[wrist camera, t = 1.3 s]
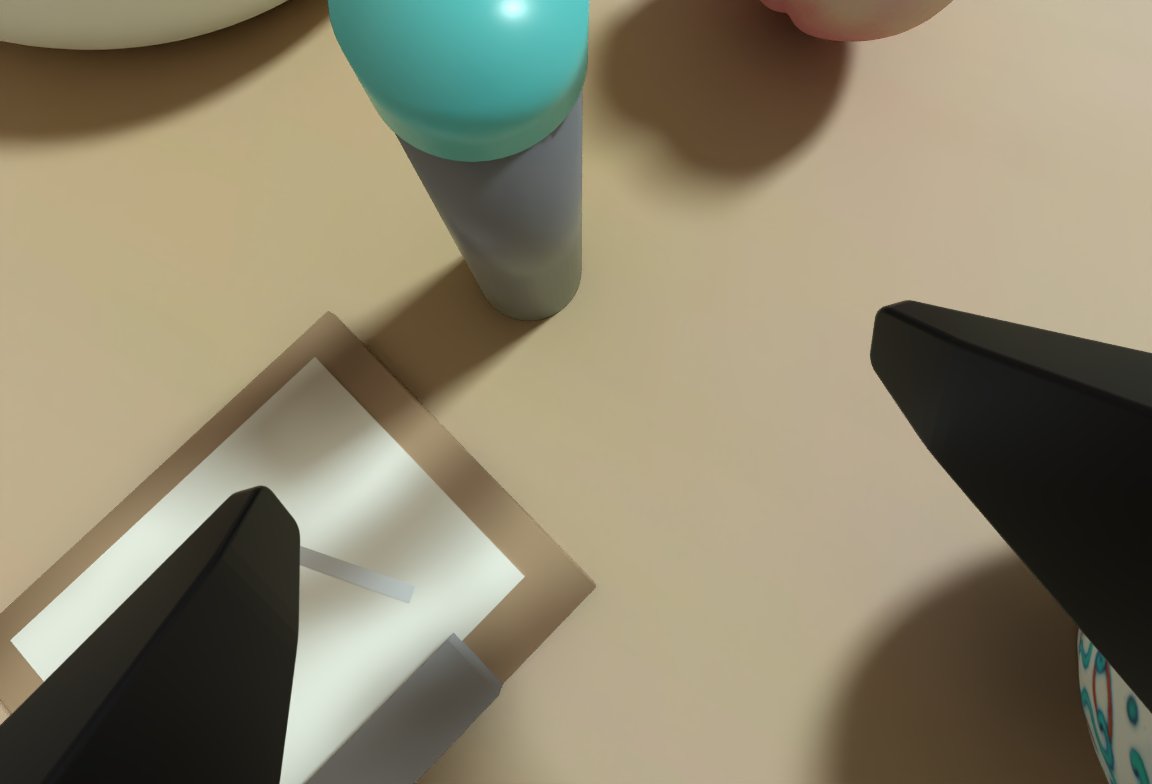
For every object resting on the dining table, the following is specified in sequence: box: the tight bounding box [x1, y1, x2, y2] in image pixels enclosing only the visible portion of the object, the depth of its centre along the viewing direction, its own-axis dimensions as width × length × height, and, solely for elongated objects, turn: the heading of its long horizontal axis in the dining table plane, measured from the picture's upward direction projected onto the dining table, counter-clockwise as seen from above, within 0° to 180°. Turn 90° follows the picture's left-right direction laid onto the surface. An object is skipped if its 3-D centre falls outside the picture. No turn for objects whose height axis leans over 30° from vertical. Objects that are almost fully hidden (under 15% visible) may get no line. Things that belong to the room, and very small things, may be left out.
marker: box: [328, 0, 589, 321], centre depth 16 cm, size 4×4×13 cm
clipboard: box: [0, 311, 596, 784], centre depth 20 cm, size 14×17×2 cm
